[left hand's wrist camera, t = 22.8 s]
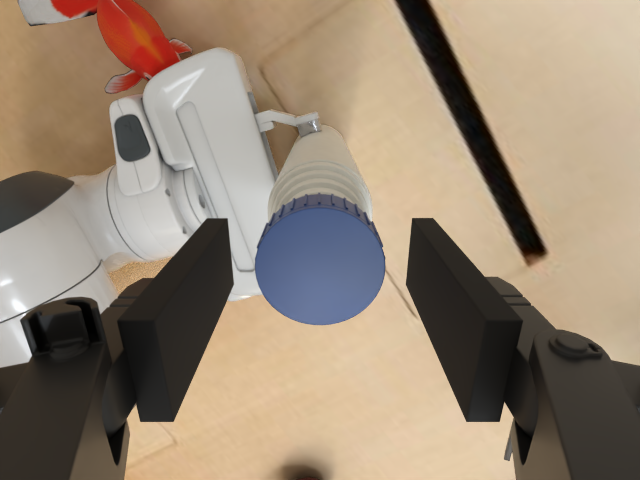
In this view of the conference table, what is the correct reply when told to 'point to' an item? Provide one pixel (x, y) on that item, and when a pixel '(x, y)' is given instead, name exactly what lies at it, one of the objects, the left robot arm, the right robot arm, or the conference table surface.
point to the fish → (116, 34)
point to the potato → (307, 478)
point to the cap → (320, 260)
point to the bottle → (320, 172)
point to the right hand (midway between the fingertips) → (330, 160)
